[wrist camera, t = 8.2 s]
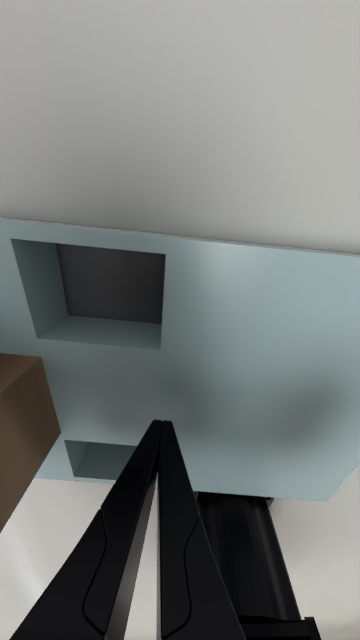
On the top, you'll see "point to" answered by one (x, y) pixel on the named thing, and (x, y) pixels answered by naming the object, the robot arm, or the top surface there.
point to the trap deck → (189, 353)
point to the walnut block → (23, 426)
